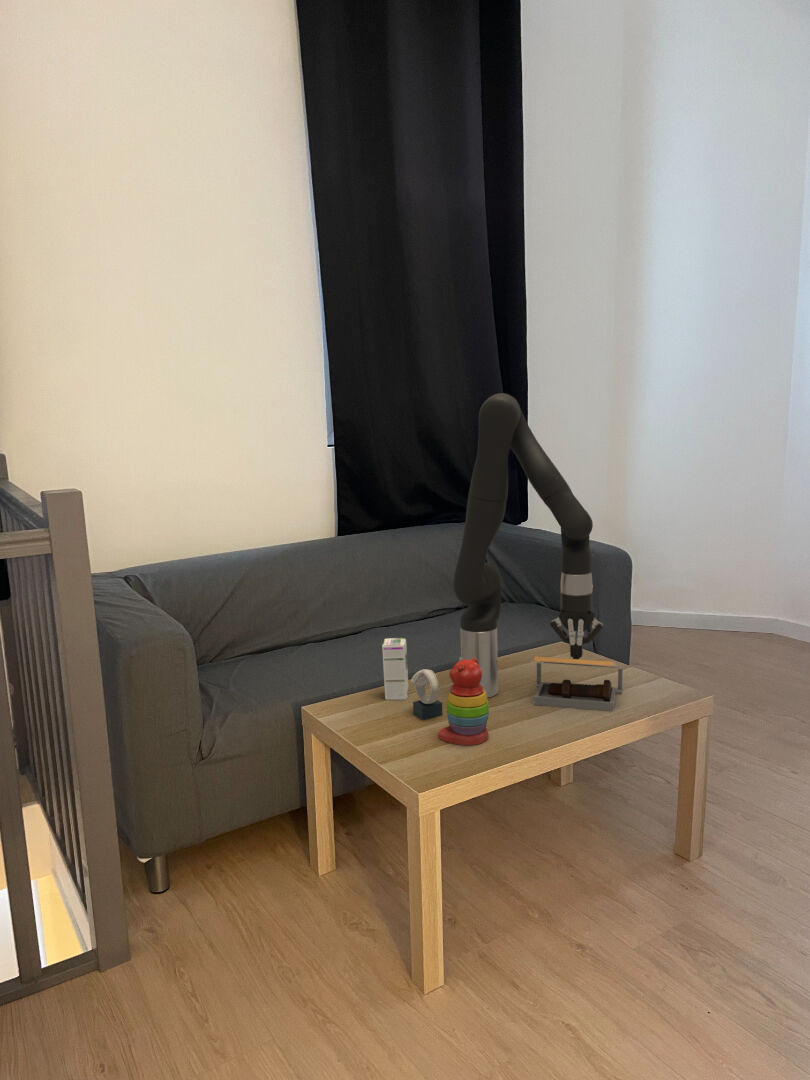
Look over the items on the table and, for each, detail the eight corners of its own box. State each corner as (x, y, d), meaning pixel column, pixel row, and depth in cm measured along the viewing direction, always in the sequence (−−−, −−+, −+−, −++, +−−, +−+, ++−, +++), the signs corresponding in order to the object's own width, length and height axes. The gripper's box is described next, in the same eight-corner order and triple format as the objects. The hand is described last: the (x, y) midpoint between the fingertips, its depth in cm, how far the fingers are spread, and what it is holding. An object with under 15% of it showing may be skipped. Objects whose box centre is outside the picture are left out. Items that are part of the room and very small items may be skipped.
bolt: (549, 702, 206) (611, 705, 201) (546, 698, 202) (609, 702, 197) (550, 678, 208) (611, 681, 203) (547, 675, 204) (610, 678, 199)
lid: (534, 661, 200) (534, 656, 200) (542, 662, 214) (542, 657, 214) (613, 667, 195) (613, 661, 195) (616, 668, 208) (617, 662, 209)
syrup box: (407, 700, 207) (405, 644, 205) (384, 700, 208) (381, 644, 205) (408, 691, 213) (407, 637, 210) (386, 691, 213) (384, 637, 211)
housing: (528, 704, 202) (528, 680, 201) (537, 683, 216) (537, 661, 215) (619, 711, 196) (619, 687, 195) (622, 689, 209) (622, 667, 208)
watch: (429, 706, 203) (427, 663, 200) (446, 717, 196) (445, 673, 194) (409, 711, 200) (407, 668, 198) (425, 722, 193) (424, 678, 191)
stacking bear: (467, 723, 192) (465, 649, 189) (500, 735, 185) (499, 659, 181) (433, 737, 185) (431, 661, 182) (467, 750, 178) (465, 671, 174)
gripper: (546, 593, 198) (547, 662, 201) (603, 595, 194) (603, 665, 197) (550, 585, 205) (551, 652, 208) (605, 587, 201) (605, 655, 204)
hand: (576, 658), depth 203 cm, fingers closed
